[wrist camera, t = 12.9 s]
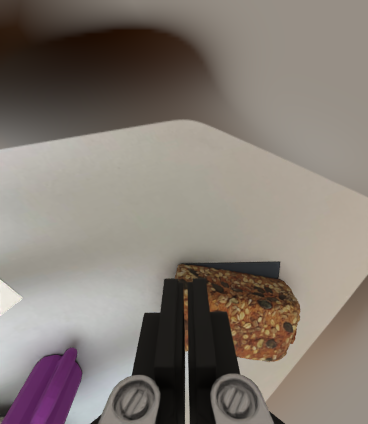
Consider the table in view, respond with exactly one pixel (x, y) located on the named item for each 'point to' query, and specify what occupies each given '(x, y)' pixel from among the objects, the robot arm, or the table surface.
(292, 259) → the table surface
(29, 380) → the mug
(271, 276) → the corner pad
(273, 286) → the bread
